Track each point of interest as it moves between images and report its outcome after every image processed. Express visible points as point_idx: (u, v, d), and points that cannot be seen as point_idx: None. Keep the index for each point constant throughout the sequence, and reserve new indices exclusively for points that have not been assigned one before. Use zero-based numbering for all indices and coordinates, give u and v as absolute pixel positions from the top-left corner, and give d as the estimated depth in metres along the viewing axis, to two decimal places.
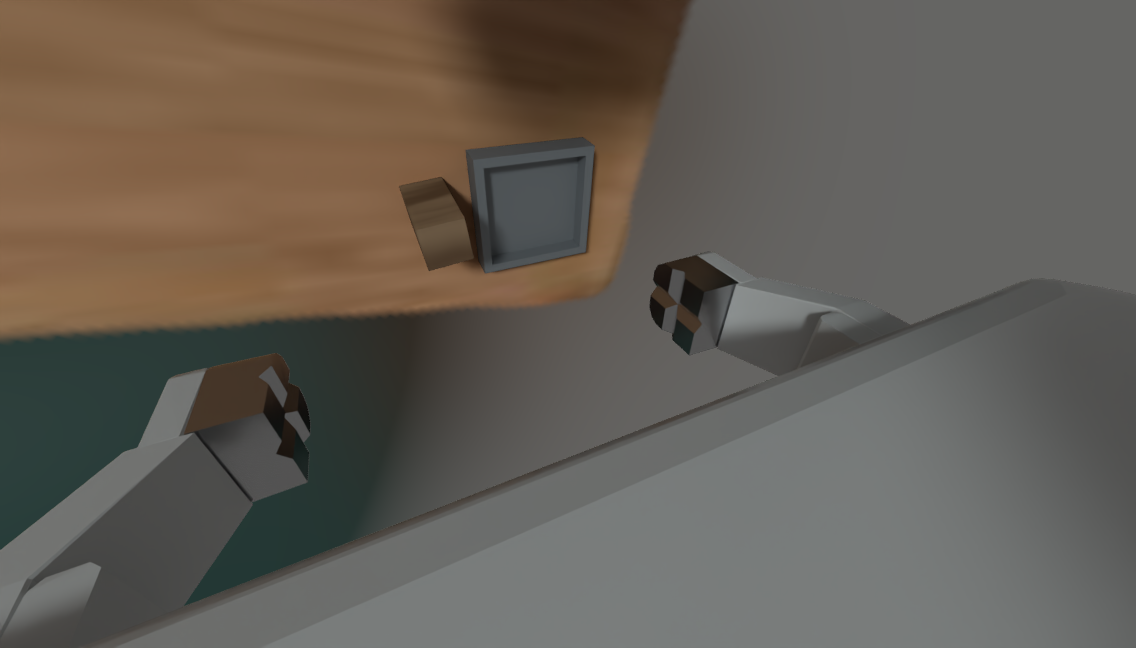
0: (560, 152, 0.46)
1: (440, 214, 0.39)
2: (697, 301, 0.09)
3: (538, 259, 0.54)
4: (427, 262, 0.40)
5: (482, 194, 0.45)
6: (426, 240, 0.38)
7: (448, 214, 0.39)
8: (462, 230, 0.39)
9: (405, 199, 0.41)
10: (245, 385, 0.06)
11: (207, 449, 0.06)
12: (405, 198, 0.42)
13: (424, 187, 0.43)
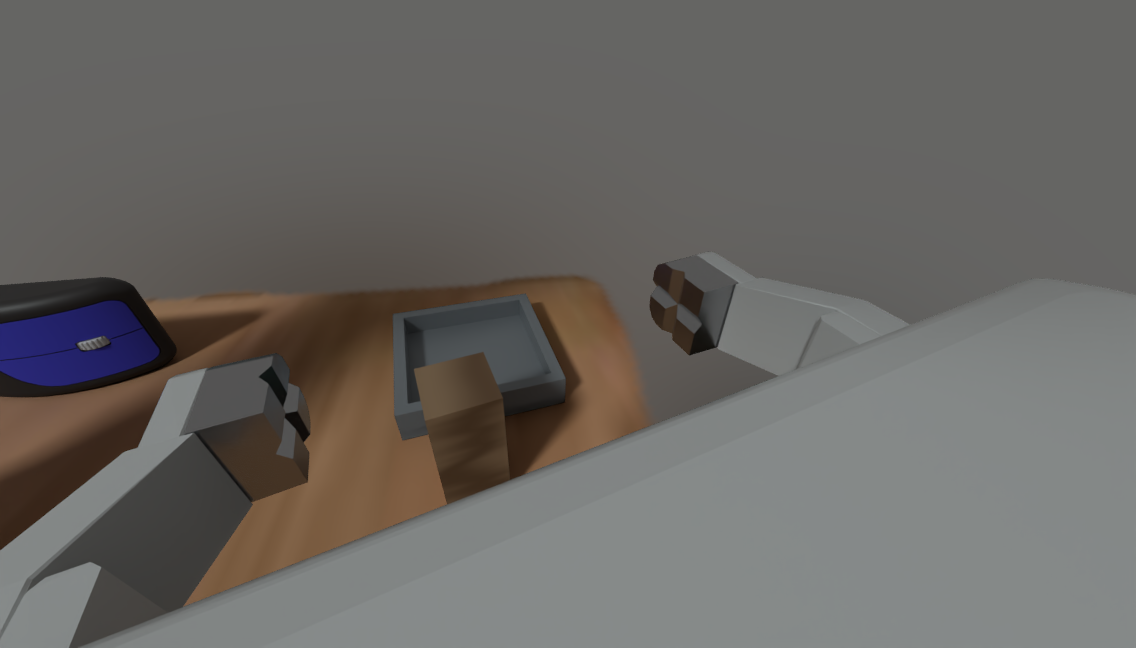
0: (396, 338, 0.39)
1: None
2: (697, 301, 0.09)
3: (538, 330, 0.41)
4: (486, 401, 0.24)
5: None
6: (446, 405, 0.24)
7: None
8: (434, 369, 0.26)
9: None
10: (245, 385, 0.06)
11: (207, 449, 0.06)
12: (442, 485, 0.27)
13: None
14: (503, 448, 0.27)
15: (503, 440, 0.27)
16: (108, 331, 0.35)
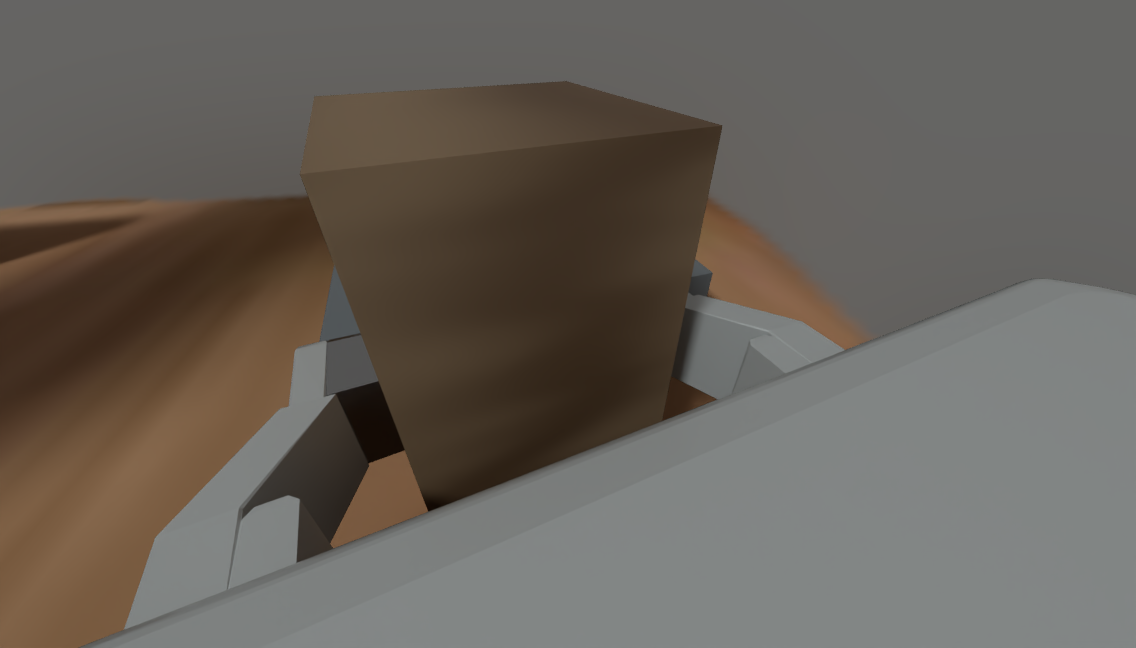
0: None
1: None
2: None
3: None
4: (648, 131, 0.05)
5: None
6: (439, 140, 0.04)
7: None
8: (395, 95, 0.07)
9: None
10: (367, 355, 0.07)
11: (343, 410, 0.06)
12: None
13: None
14: (654, 404, 0.08)
15: (662, 371, 0.07)
16: None
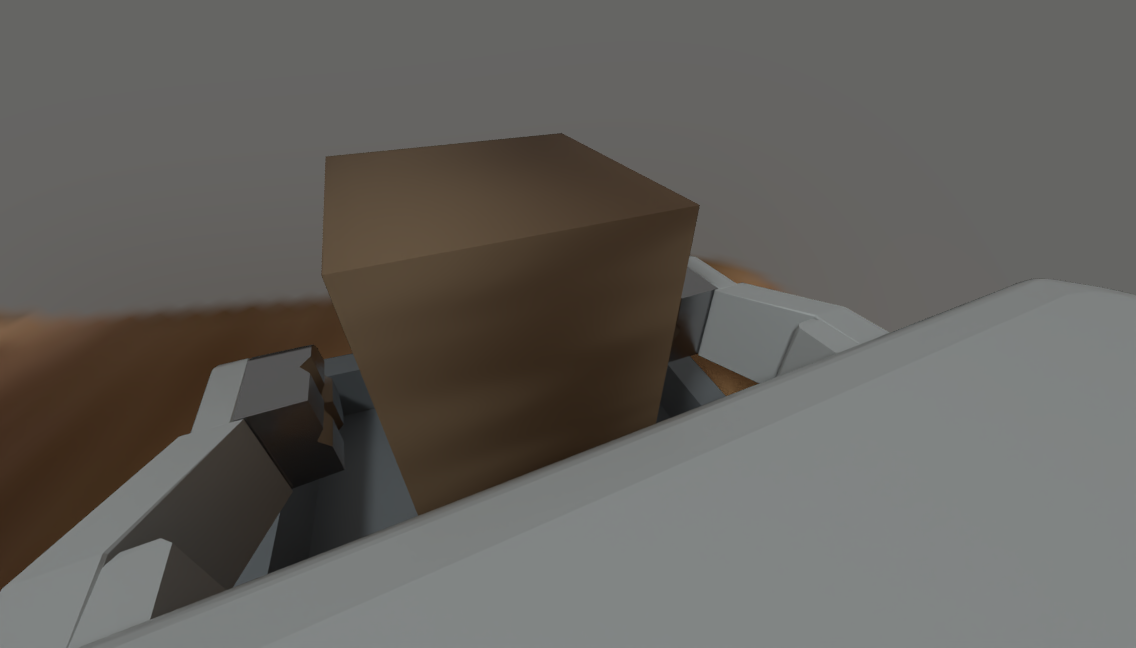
0: None
1: None
2: None
3: None
4: (631, 213, 0.05)
5: None
6: (443, 227, 0.05)
7: None
8: (401, 156, 0.07)
9: None
10: (288, 374, 0.07)
11: (255, 435, 0.06)
12: None
13: None
14: None
15: (649, 411, 0.08)
16: None
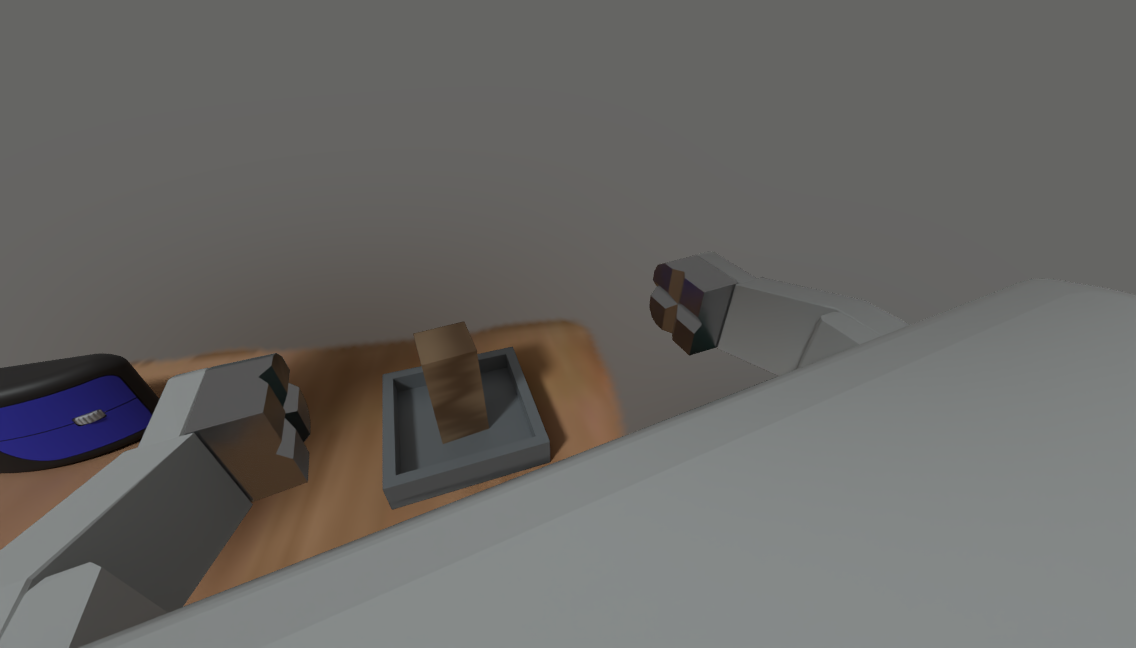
0: (385, 402, 0.41)
1: None
2: (697, 301, 0.09)
3: (524, 388, 0.42)
4: (464, 352, 0.34)
5: (431, 469, 0.35)
6: (436, 356, 0.34)
7: None
8: (428, 333, 0.36)
9: None
10: (245, 385, 0.06)
11: (207, 449, 0.06)
12: (436, 420, 0.37)
13: None
14: (480, 391, 0.37)
15: (479, 384, 0.37)
16: (103, 404, 0.37)
